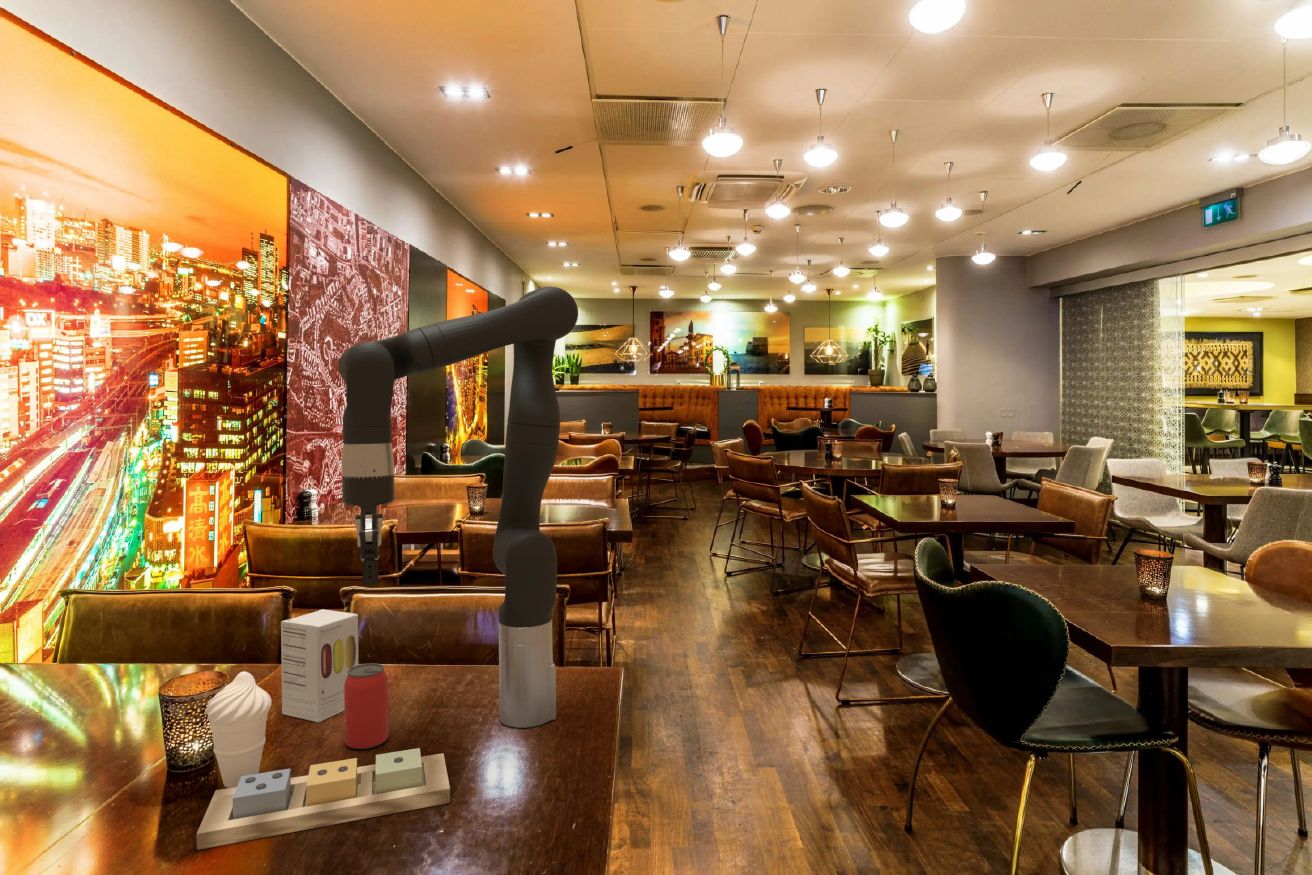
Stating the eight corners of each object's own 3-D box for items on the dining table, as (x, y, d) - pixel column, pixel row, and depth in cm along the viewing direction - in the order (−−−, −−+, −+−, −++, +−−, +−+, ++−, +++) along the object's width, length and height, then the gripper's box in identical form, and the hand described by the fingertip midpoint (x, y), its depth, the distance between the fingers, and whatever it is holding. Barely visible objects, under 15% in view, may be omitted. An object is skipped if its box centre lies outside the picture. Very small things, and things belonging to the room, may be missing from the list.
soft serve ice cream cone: (226, 802, 100) (223, 687, 99) (195, 785, 104) (192, 676, 104) (284, 776, 107) (282, 669, 107) (253, 762, 112) (251, 659, 111)
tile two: (357, 785, 103) (357, 756, 103) (356, 806, 98) (355, 776, 98) (311, 793, 101) (310, 763, 101) (306, 815, 96) (306, 784, 96)
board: (443, 766, 110) (443, 753, 110) (450, 802, 100) (449, 788, 100) (216, 804, 99) (215, 790, 99) (196, 849, 89) (196, 833, 89)
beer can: (373, 752, 114) (372, 677, 114) (336, 749, 116) (335, 674, 115) (396, 734, 121) (395, 663, 120) (361, 731, 122) (359, 660, 122)
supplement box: (318, 723, 125) (316, 627, 125) (280, 715, 129) (278, 621, 128) (361, 703, 134) (359, 612, 133) (324, 695, 138) (322, 607, 137)
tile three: (291, 796, 100) (290, 766, 100) (285, 819, 95) (285, 787, 95) (241, 805, 98) (241, 774, 98) (233, 828, 93) (232, 796, 93)
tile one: (420, 774, 106) (419, 746, 106) (422, 794, 101) (421, 765, 101) (376, 782, 104) (375, 753, 104) (376, 803, 99) (375, 772, 99)
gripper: (394, 475, 107) (396, 591, 108) (393, 468, 120) (395, 573, 120) (339, 477, 105) (342, 596, 105) (343, 470, 117) (346, 576, 118)
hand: (370, 583), depth 113 cm, fingers closed
